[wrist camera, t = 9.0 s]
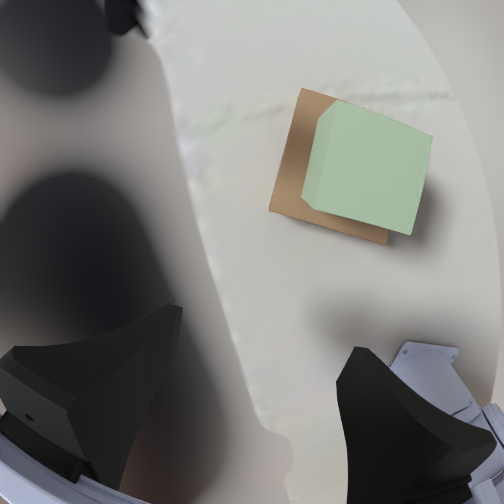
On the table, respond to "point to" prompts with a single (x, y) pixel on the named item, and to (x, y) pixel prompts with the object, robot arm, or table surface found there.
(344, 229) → the walnut block
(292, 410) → the table surface
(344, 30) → the table surface
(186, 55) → the table surface
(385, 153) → the sage cube
